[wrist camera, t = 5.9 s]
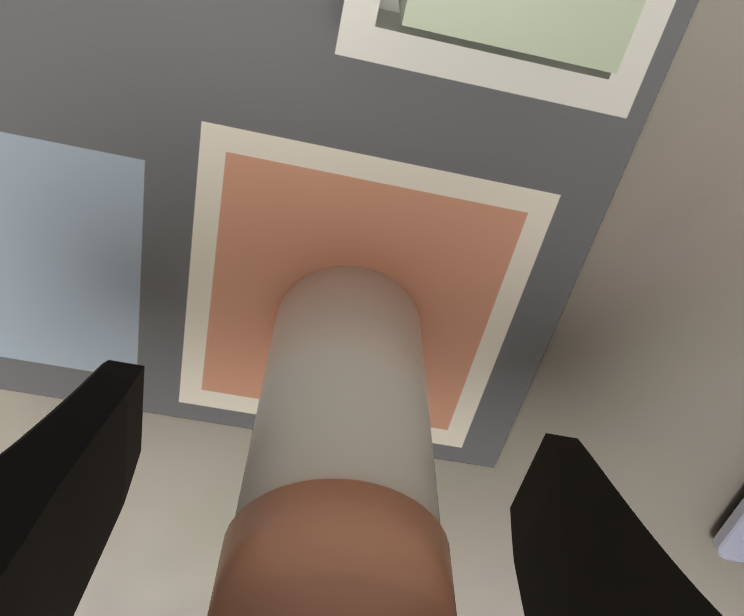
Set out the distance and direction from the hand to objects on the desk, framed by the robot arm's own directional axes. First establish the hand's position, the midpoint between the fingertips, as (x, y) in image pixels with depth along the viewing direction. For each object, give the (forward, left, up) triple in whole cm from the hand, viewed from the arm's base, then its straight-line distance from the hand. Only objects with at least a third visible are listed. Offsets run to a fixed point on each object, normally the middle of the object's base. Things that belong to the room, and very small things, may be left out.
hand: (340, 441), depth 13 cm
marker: (0, 0, -3) cm, 3 cm away
